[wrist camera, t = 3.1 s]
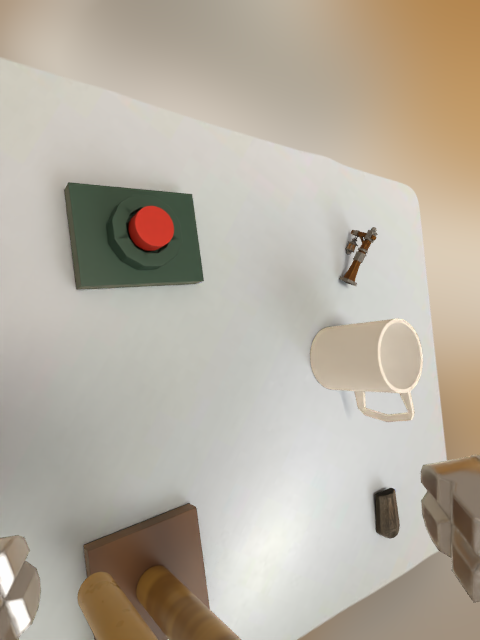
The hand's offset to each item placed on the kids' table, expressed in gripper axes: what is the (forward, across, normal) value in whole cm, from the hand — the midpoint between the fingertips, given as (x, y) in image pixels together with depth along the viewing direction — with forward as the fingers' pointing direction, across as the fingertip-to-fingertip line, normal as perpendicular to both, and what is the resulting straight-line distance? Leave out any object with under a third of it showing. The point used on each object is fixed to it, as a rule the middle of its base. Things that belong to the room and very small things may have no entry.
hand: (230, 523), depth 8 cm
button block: (+34, +7, -4) cm, 35 cm away
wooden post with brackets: (+49, -18, +3) cm, 52 cm away
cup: (+42, -14, +17) cm, 47 cm away
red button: (+31, +5, -5) cm, 32 cm away
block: (+38, -17, +37) cm, 56 cm away
